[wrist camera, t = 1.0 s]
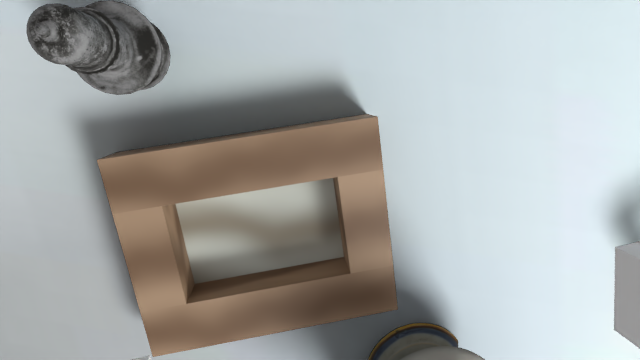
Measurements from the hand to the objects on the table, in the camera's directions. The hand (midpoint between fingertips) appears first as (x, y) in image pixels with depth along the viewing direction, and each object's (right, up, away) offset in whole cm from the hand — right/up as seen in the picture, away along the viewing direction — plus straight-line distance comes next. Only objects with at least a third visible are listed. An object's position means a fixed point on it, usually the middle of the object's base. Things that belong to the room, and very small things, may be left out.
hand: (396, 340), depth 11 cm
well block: (-7, +1, +22) cm, 23 cm away
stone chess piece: (-16, +14, +18) cm, 28 cm away
